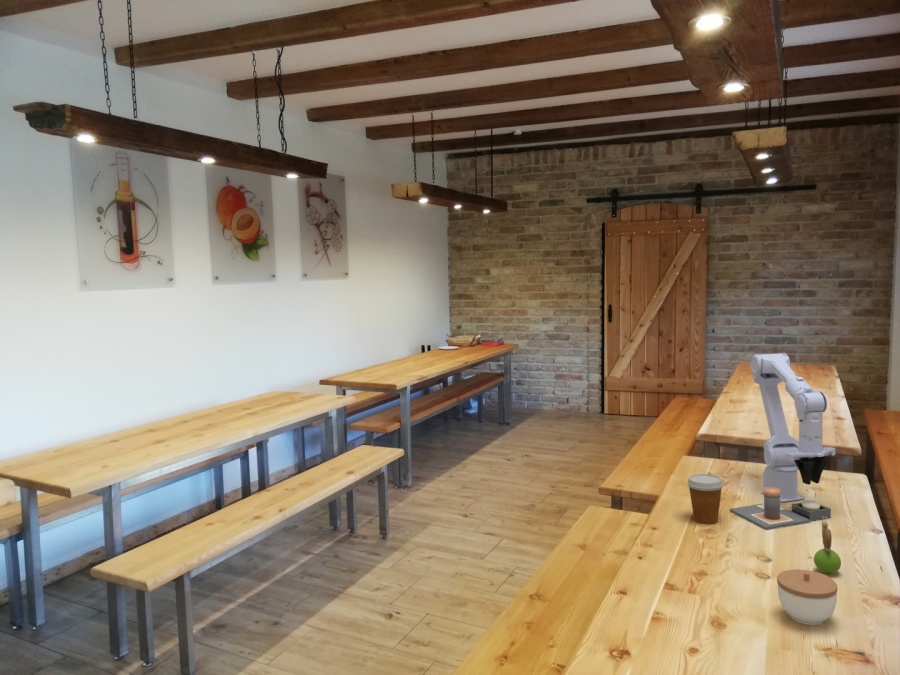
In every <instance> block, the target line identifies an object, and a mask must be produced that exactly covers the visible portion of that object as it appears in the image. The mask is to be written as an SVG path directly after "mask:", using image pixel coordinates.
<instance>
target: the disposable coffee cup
mask: <svg viewBox="0 0 900 675" xmlns="http://www.w3.org/2000/svg"><path fill="white" fill-rule="evenodd" d="M686 484H687V486H688V489H689V495H690V501H691V509H692V514H693V521H695V522H697V523H698V524H705V525H713V524H716V523H717V522H718V520H719V514H720V505H721V497H722V495H721V494H722V489H723V486H724V482H723V480H722V478H721V477H720V476H718V475H714V474H710V473H708V474H707V473H697V474H692V475H690V476H688V478H687V481H686Z"/></svg>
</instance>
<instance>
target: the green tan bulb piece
mask: <svg viewBox="0 0 900 675" xmlns="http://www.w3.org/2000/svg"><path fill="white" fill-rule="evenodd" d="M822 520H827V517H825V519H824V517H823V516H822ZM828 526H829V524H828V522H827V521H822V523H821V537H822V545H823V548H821V549H819V550H817V551H816V552H815V554H814V556H813V562H814V564H815V567H816V568H817V569H818V570H819V571H821V572H822V573H825V574H835V573H836V572H838V571H839V570H840V569H841V565H842V560H841V557H840V556H839V554H838V553H837V552H836V551H834V550H833V549H832V548H831V547H832V533H831V532H832V531H831V530H830V529H829V528H828Z"/></svg>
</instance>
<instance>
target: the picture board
mask: <svg viewBox="0 0 900 675" xmlns="http://www.w3.org/2000/svg"><path fill="white" fill-rule="evenodd" d="M729 512H730V513H732V514H734V515H736V516H738V517H740V518H742V519H744V520H745V519H746V520H745V521H747V522H749V523H752V524H753V525H755V526H757V527H758V528H759V527H760V528H762V529H763V530H765V531H769V530H774V529H780V527H781V528H786V526H787V527H792V525H793V526H798V525H803V524H809V523H811V521H810V520H809V519H807V518H805V517H803V516H800V515H798V514H796V513H794V512H792V510H789V509H787V508H785V507H783V506H780V519H778V520H770V519H766V518H765V517H764V502H763V503H759V504H752V505H746V506H745V505H744V506H738V507H733V508H729Z"/></svg>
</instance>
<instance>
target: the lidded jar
mask: <svg viewBox="0 0 900 675" xmlns="http://www.w3.org/2000/svg"><path fill="white" fill-rule="evenodd" d="M776 583H777V594H778V598H779V601H780V604H781V607H782V608H783V609H784V611H785V612H786V613H787V614H788V615H789V617H790V619H792V620H793V621H795V622H797V623H799V624H802V625H806V626H820V625H822V624H823V623H824V622H825V621H826V620H828V619H829V618H830V617H832V615H833V614H834V612H835V608H836V605H837V597H838V594H837V593H838V583H837V582H836V581H835V580H834V579H833V578H831V577H829V576H828V575H827V574H826V575H825V574H823V573H821V572H817V571H812V570H809V569H788V570H784V571H781V572H780V573H778V575H777V577H776Z"/></svg>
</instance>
